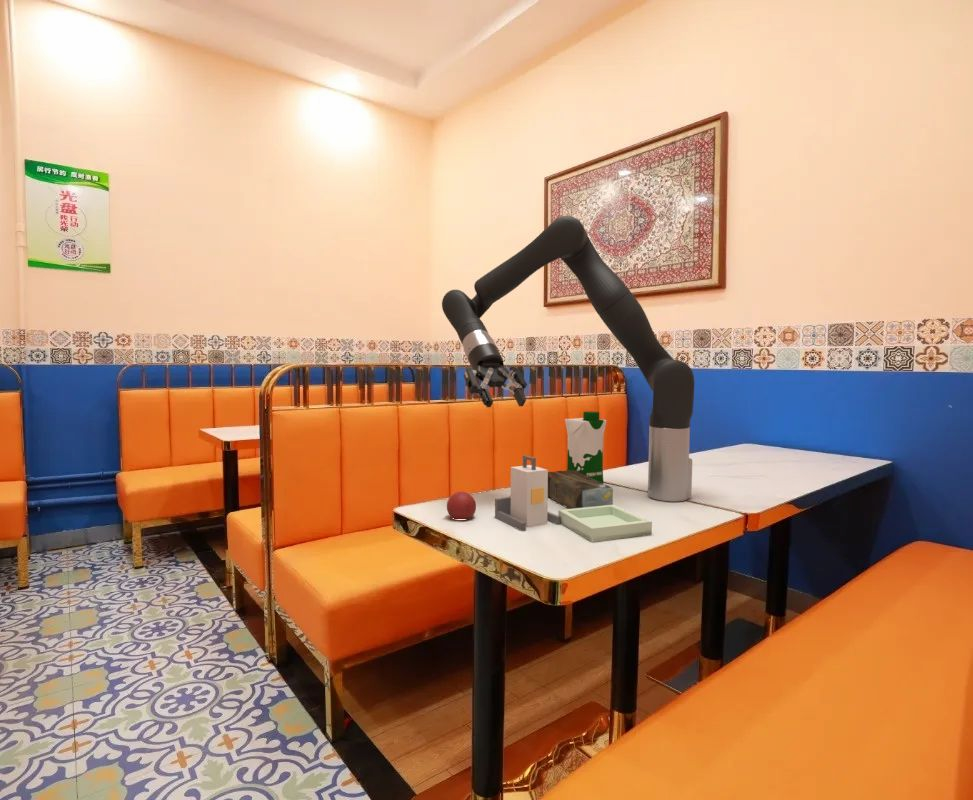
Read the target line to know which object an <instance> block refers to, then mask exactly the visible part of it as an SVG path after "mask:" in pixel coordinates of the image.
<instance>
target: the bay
mask: <svg viewBox="0 0 973 800" xmlns="http://www.w3.org/2000/svg"><path fill="white" fill-rule="evenodd" d="M494 518H496V519H497V520H500V521H501V522H503V523H505V524H508V525H510V526H511V527H513V528H516V529H518V530H519V531H522V532H524V531H526V530H527V527H526V522H523V521H521V520H519V519H517V518H515V517H513V516H511V495H510V496H505V497H497V498H494ZM560 518H561V517H560V516H558V514H555V513H552V512H551V511H548V510H547V522H551V523H553V524H555V525H561V523H560Z"/></svg>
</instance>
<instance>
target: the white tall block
mask: <svg viewBox="0 0 973 800" xmlns="http://www.w3.org/2000/svg"><path fill="white" fill-rule="evenodd" d="M528 461H530V462H531V464H527V463H528ZM536 462H537V458H536V457H533V456H530V455H529V456H528V455H522V465H520V466H519V465H518V466H511V467H510V496H511V516H513V517H515V518H517V519H519V520H521V521H523V522H526V528H531V527H536V526H543V525H546V524H548V520H547V511H548V498H549V497H548V472H549V469H545V468H542V467H541V466H537V465H536V464H537V463H536Z"/></svg>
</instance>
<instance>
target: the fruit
mask: <svg viewBox="0 0 973 800" xmlns="http://www.w3.org/2000/svg"><path fill="white" fill-rule="evenodd" d="M476 508H477V502H476V500H475V498H474V497H473V495H472V494H470V493H469V492H465V491H457V492H454V493H453V494H451V496H450V497H449V498H448V500H447V503H446V511H447V513H448V516H449V517H450V518H451V517H452V518H454V519H469V518H471V519H472V517H473V516H474V514H475V513H476V510H477V509H476ZM452 518H451V519H452ZM454 519H453V520H454ZM469 520H470V519H469Z"/></svg>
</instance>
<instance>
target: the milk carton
mask: <svg viewBox="0 0 973 800" xmlns="http://www.w3.org/2000/svg"><path fill="white" fill-rule="evenodd" d="M582 415H583V416H582V417H577V418H565V419H564V424H565V427H566V434H567V455H566V456H567V460H566V461H567V462H566V464H567V465H566V466H567V467H566V471H568V470H573V471H576V472H579V473H581V474H583V475H585V476H588V477H590V478H592V479H594V480H596V481H599V482H601V483H603V484H604V434H605V431H606V430H605V429H606V426H607V425H606V424H607V421H608V420H607V419H601V418H600V411H583V412H582Z"/></svg>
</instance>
